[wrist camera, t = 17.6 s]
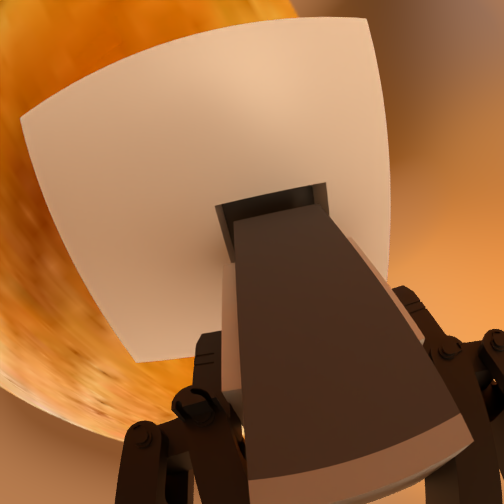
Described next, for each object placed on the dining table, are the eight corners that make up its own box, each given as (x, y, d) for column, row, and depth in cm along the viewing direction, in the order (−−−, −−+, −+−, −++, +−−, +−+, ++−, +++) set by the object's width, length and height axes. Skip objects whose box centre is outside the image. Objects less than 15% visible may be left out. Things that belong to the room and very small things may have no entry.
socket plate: (49, 112, 13) (19, 117, 10) (342, 31, 13) (366, 18, 10) (144, 333, 23) (136, 362, 20) (366, 287, 23) (383, 313, 19)
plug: (233, 221, 14) (251, 515, 3) (318, 203, 14) (474, 441, 3) (251, 290, 17) (280, 522, 5) (325, 273, 16) (415, 483, 5)
